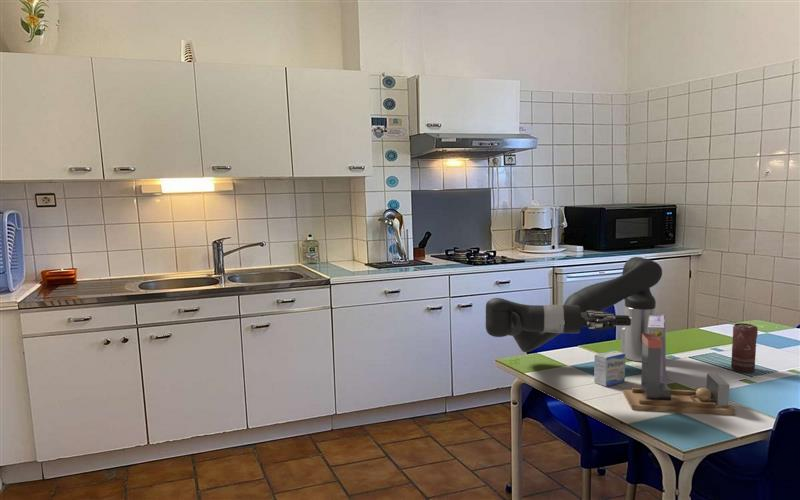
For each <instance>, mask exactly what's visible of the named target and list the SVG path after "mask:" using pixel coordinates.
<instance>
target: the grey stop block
mask: <svg viewBox="0 0 800 500" xmlns="http://www.w3.org/2000/svg"><path fill="white" fill-rule="evenodd" d="M706 388H707V389H708V390H709V391H710V392H711V398H710V400H711V401H712V402H713V403H715V404H716V406H717V407H720V408H728V404H729V403H730V402H729V400H730V399H729V397H730V384H729V383H728V382H727V381H726V380H725V379H724V378H722V376H721V375H719V374H718V373H706ZM729 405H730V404H729Z"/></svg>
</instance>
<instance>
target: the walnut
mask: <svg viewBox="0 0 800 500" xmlns="http://www.w3.org/2000/svg"><path fill="white" fill-rule="evenodd" d="M695 391H696V396H697V398H698V399H699V400H701V401H708V400H709V399H710V398H711V392H710V391H709V390H708V389H707V387H705V386H704V387H703V386H702V387H699V388H697V390H695Z"/></svg>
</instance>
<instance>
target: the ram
mask: <svg viewBox="0 0 800 500" xmlns="http://www.w3.org/2000/svg"><path fill="white" fill-rule="evenodd" d="M642 341H643V344H642V362H641V379H640V381H641V382H640V383H641V384H640V388H641V392H642V394H643V395H644V397H645V398H646V399H650V400H670V401H671V390H672V389H671V388H670V387H669V385H668V384H667V383H666V382H665V383H660V357H661V347H662V340H661V339H660V338H659V337H658V336H657V335H656V334H644V333H642Z"/></svg>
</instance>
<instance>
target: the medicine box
mask: <svg viewBox="0 0 800 500" xmlns="http://www.w3.org/2000/svg"><path fill="white" fill-rule="evenodd" d="M593 371H594V373H593V374H594V375H593V376H594V377H593V378H594V381H593V382H594V383H595V384H598V385H600V386H603V387H605V388H607V387H612V386H615V385H618V384H622V383H624V382H625V377H626V358H625V354H624V353H621V351H619V350H618V351H617V350H610V351H606V352H605V351H604V352H600V353H597V354H594V370H593Z"/></svg>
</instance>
